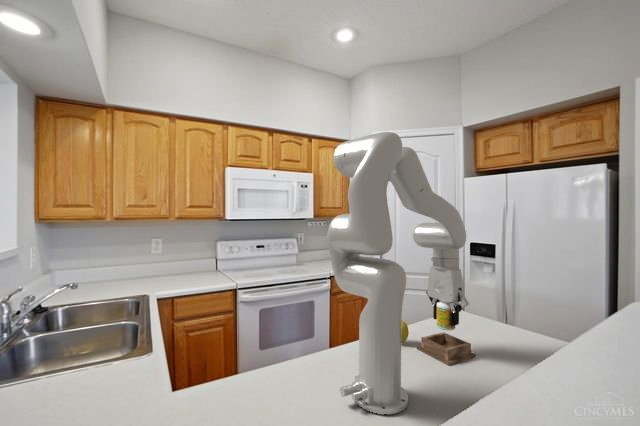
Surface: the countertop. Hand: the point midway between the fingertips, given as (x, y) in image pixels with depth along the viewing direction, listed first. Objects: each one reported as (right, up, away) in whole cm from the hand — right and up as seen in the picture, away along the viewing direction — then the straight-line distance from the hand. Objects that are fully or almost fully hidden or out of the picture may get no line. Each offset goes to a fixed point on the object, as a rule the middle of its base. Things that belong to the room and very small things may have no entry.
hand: (445, 321), depth 91 cm
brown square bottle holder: (0, -10, 0) cm, 10 cm away
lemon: (-13, -10, +6) cm, 17 cm away
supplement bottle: (0, -2, 0) cm, 2 cm away
